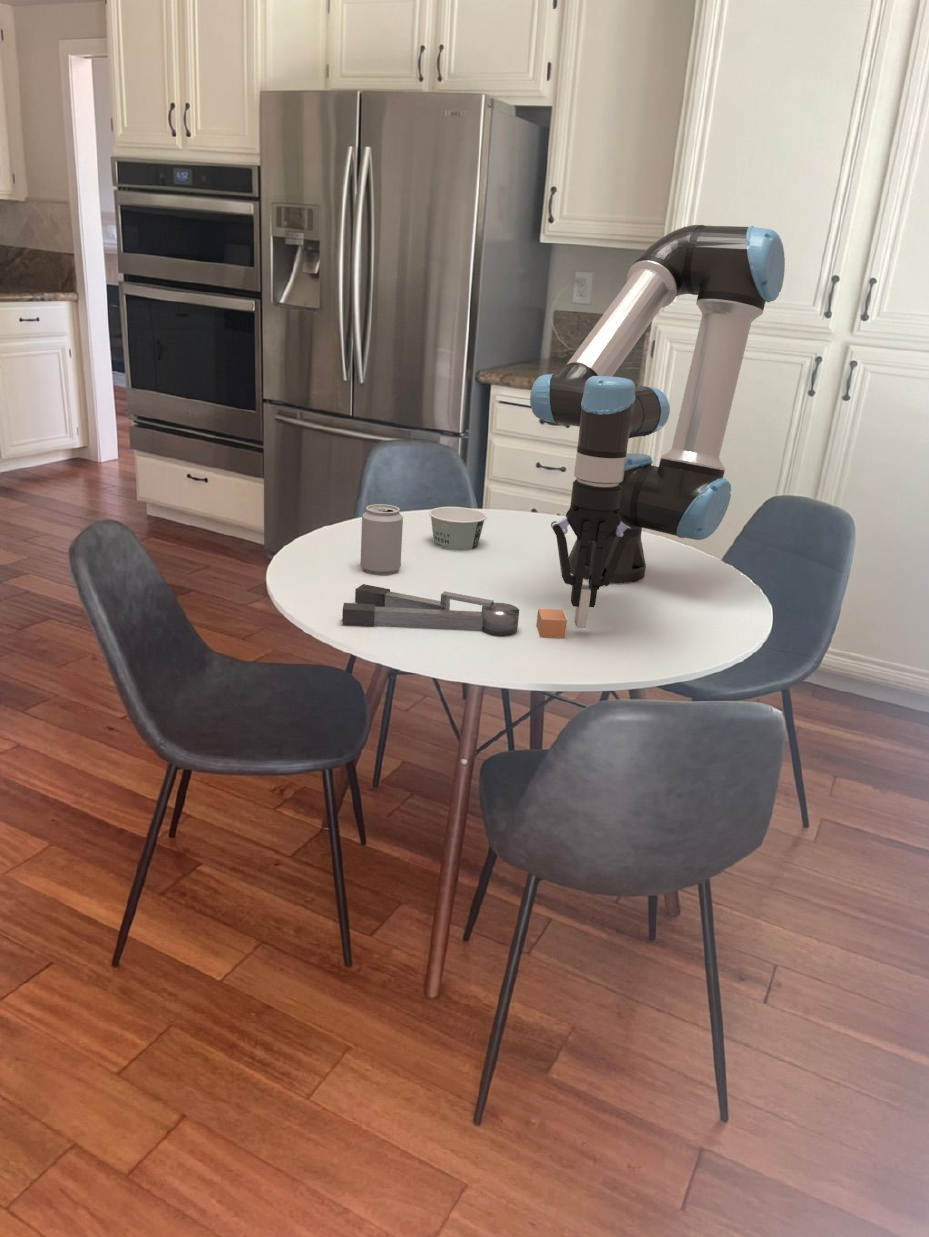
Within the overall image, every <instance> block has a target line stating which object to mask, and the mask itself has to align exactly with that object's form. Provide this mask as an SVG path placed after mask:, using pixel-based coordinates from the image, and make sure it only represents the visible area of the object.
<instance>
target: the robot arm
mask: <svg viewBox="0 0 929 1237" xmlns="http://www.w3.org/2000/svg"><path fill="white" fill-rule="evenodd" d="M784 249H785V248H784V245H783V241H782V239H781V236H780V235H779V234H778V232H776V231H775V230H773V229H770V228H763V227H755V226H754V225H753V226H752V225H750V226H737V225H736V226H729V225H728V226H727V225H704V224H692V225H687V226H683V227H680V228H678V229H675V230H674V231H672V232H669V233H667V234H666V235H665V236H663V237H661V238H660V239H658V240H656V241H655V242H654V243H653V244H651V245H650V246H649V247H648V248H647V249H646V250H644V251H643V252H642V254H640V255H639V256H638V258H637V259H636V260H635V261H634V263H633V264H632V266H631V267H630V268H629V270H628V271H627V275H626V283H625V285H624V286H623V287H622V289H621V290H619V292H618V294H617V295H616V296H615V298H614V299H613V300H612V302H611V303H610V305H609V306H608V307H607V309H606V310H605V311H604V313H603V315H602V316H601V317H600V318H599V319H598V321H597V322H596V324H595V325H594V326H593V328H592V329H591V331H590V332H589V333H588V335H587V336H586V337H585V338H584V340H583V342H582V343H581V344H580V346H578V348H577V349H576V351H575V352H574V353H573V355H572V356H571V358H570V359H569V360H568V362H567V363H566V364H565V365H564V367H563V368H562V370H561V371H559V372H560V373H559V374H554V373H550V374H542V375H541V376H540V375H539V376H538V377H537V378H536V380H535V381H534V382H533V385H532V387H531V390H530V396H529V404H530V408H531V412H532V413H533V415H534V416H535V417H536V418H537V419H540V420H542V421H546V422H550V423H553V424H556V425H558V424H560V425H566V426H567V425H568V426H572V427H578V428H579V429H578V430H579V432H578V438H577V439H578V440H577V441H578V442H577V447H576V457H575V465H574V472H573V476H574V477H575V478H576V479H575V480H574V481H572V487H571V488H572V490H571V497H570V498H571V499H570V505H569V509H568V510H567V512H565V513H566V514H565V517H564V518H562V519H561V520H559V521H557V520H556V521H555V520H554V521H551V524H550V527H551V528H552V531H553V532H554V534H555V537H556V543H557V544H556V545H557V551H558V558H559V565H560V572H561V573H560V575H561V578H562V580H563V582H564V584H566V585H568V586H569V585H570V586H571V593H570V594H571V595H570V603H571V606H572V607H575V615H574V621H573V622H574V625H575V626H576V628H577V629H587V625H588V617H589V611H590V610H589V609H590V608H595V606H596V602H597V597H598V591H599V589H600V588H602V587H604V586H605V587H608V586H610V584H631V583H636V582H640V581H642V580H644V578H645V576H646V568H647V566H646V565H647V563H646V559H645V553H644V548H643V542H642V530H643V529H646V530H651V531H654V532H655V531H656V532H659V533H662V534H668V535H671V536H675V537H678V539H679V538H680V539H685V538H686V539H690V540H694V541H695V540H696V541H703V540H706V539H707V538H708V537H710V536H712V535H713V534H714V533H715V531H716V530H718V527H719V526H720V525H721V523H722V522H723V520H724V517H725V515H726V513H727V511H728V508H729V504H730V501H731V498H732V497H731V496H732V494H731V491H732V486H731V483H730V481H729V480H727V478H724V476H725V471H726V468H725V466H724V465H723V463H722V462H721V460H720V456H721V450H722V447H723V443H724V438H725V435H726V430H727V426H728V421H729V417H730V413H731V410H732V405H733V401H734V396H735V392H736V388H737V384H738V380H739V375H740V371H741V367H742V363H743V359H744V356H745V352H746V346H747V341H748V340H749V334H750V330H751V326H752V323H753V322H754V321H755V320H756V319H757V318H760V316H763V314H764V310H765V305H766V303H771V302H774V301H776V300H777V299H778V297H779V296H780V292H781V291H782V288H783V283H784V280H785V269H786V268H785V267H786V266H785V264H786V261H785V260H786V259H785V250H784ZM684 295H692V296H697V298H696V302H695V304H696V305H697V307H698V309H699V310H700V312H701V319H700V323H699V328H698V332H697V336H696V341H695V346H694V349H693V353H692V357H691V358H692V359H691V361H690V362H691V363H690V365H689V366H690V367H689V372H688V376H687V380H686V384H685V389H684V394H683V397H682V402H681V406H680V411H679V414H678V419H677V424H676V428H675V433H674V436H673V440H672V444H671V449H670V450H669V451H668V452H665V453H664V454H663V455H662V456H660V459H659V460H660V461H659V464H658V466H656V465H652V464H653V458H652V456H651V455H647V454H643V453H632V452H631V453H628V444H629V439H633V438H638V437H639V438H640V437H646V436H650V435H652V434H654V433H656V432H658V431H660V430H661V429H662V428H664V427H665V425H666V424H667V422H668V420H669V417H670V413H671V409H670V408H671V407H670V402H669V399H668V397H667V396H666V395H665V393H664V392H663V391H662V390H661V389H660V388H656V387H653V386H646V385H641V386H638V387H637V386H635V383H634V382H635V381H633V380H632V379H629V378H626V377H619V376H614V375H615V373H616V372H617V371H618V369H619V368H620V367H621V365H622V364H623V362H624V361H625V359H626V358H627V357H628V356H629V354H630V352H631V351H632V350H633V348H634V347H635V345H636V344H637V343H638V341H639V340H640V338H642V335H644V333H645V331H646V330H647V328H648V327H649V326H650V324H651V323H652V322H653V320H654V318H655V317H656V316H657V315H658V313H659V312H660V311H661V309H663V308H666V307H668V306H670V305H671V304H672V303H673V301H674V300H675V299H676V298H677V297H679V296H684ZM568 526H570V529H571V530H572V531H573V533H574V536H576V539H575V542H574V545H573V546H572V549H571V551H570V553H569V550H568V542H567V537H566V534H567V533H568V530H569V529H568ZM584 579H585V580H588V584H587V583H586V584H583V582H584Z"/></svg>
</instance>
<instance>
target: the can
mask: <svg viewBox="0 0 929 1237" xmlns="http://www.w3.org/2000/svg"><path fill="white" fill-rule="evenodd" d="M365 510H366V511H365V512H363V513H362V516H361V537H360V538H361V540H360V541H361V542H360V563H359V564H360V566H361V568H363V570H364V571H365V572H367V573H370V574H374V575H382V576H383V575H391V574H394V573H395V572H396V571H398V570H399V569H400V568H401V567H402V566H401V565H402V564H401V563H402V546H403V544H402V543H403V525H404V517H403V515H402V514H401V513H400V511H401V508H400V507H398V506H396V505H391V504H384V503H382V504H381V503H379V504H376V503H375V504H369V505H367V506H366V507H365Z"/></svg>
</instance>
